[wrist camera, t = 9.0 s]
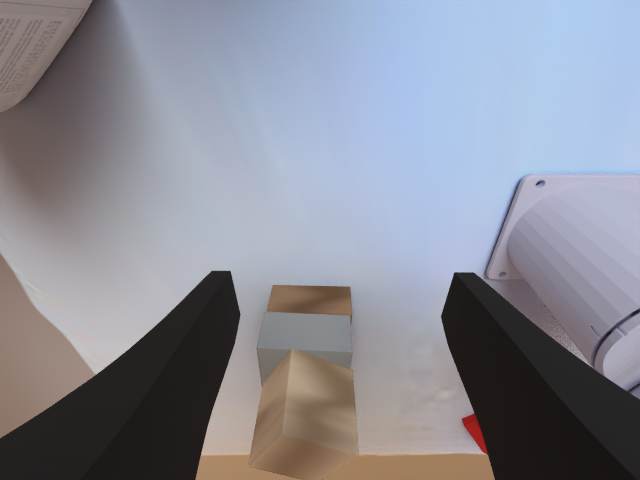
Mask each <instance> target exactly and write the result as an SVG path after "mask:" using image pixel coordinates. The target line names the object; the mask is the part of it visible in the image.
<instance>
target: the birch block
mask: <svg viewBox="0 0 640 480" xmlns="http://www.w3.org/2000/svg"><path fill="white" fill-rule="evenodd" d="M358 456H359V451H358V437H357V423H356V409H355V395H354V381H353V370H351V369H348V368H345V367H343V366H340V365H337V364H334V363H332V362H329V361H326V360H323V359H321V358H318V357H315V356H312V355H310V354H307V353H304V352H301V351H299V350H296V349H293V348H291V349H290V351H289V352H288V353H287V354H286V356H285V357H284V358H283V359H282V360H281V362H280V363H279V364H278V365H277V367H276V368H275V369H274V370H273V372H272V373H271V374H270V375H269V376H268V378H267V379H266V380H265V381H264V383H263V387H262V392H261V398H260V403H259V409H258V414H257V420H256V425H255V430H254V436H253V441H252V447H251V452H250V458H249V463H248V467H252V468H256V469H260V470H264V471H269V472H273V473H277V474H281V475H286V476H289V477H293V478H298V479H302V480H323V479H325V478H326V477H328V476H329V475H331V474H332V473H334V472H335V471H337V470H338V469H340V468H341V467H343V466H344V465H346V464H347V463H349V462H350V461H352V460H353V459H355V458H356V457H358Z"/></svg>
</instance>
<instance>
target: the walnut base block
mask: <svg viewBox="0 0 640 480" xmlns="http://www.w3.org/2000/svg"><path fill="white" fill-rule="evenodd" d="M267 312H280V313H305V314H329V315H350V324H351V320H352V307H351V294H350V287H337V286H290V285H273V287H272V292H271V296H270V301H269V306H268V310H267Z"/></svg>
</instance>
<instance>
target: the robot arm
mask: <svg viewBox="0 0 640 480" xmlns="http://www.w3.org/2000/svg"><path fill="white" fill-rule="evenodd" d="M540 180H541V183H540V184H538V185H536V183H537V182H538V181H540ZM501 272H503V273H501ZM500 273H501V274H500ZM486 274H487V276H488V278H489V279H493V280H526V282H527V283H528V284H529V285H530V287H531V288H532V289H533V291H534V292H535V293H536V295H537V296H538V297H539V298H540V300H541V301H542V302H543V304H544V305H545V306H546V308H547V309H548V310H549V311H550V313H551V314H552V315H553V317H554V318H555V319H556V321H557V322H558V323H559V325H560V326H561V327H562V328H563V330H564V331H565V332H566V334H567V335H568V336H569V338H570V339H571V340H572V341H573V343H574V344H575V345H576V347H577V348H578V349H579V351H580V352H581V353H582V354H583V356H584V357H585V358H586V360H587V361H588V362H589V364H590V365H591V366H592V367H590V366H589V365H587V364H586V363H585V362H583V361H582V360H580V359H579V358H578V357H576V356H575V355H574V354H572V353H571V352H570V351H568V350H567V349H566V348H564V347H563V346H562V345H560V344H559V343H558V342H556V341H555V340H554V339H553V338H551V337H550V336H549V335H547V334H546V333H545V332H544V331H542V330H541V329H540V328H539V327H537V326H536V325H535V324H534V323H533V322H531V321H530V320H529V319H528V318H526V317H525V316H524V315H523V314H522V313H521V312H519V311H518V310H517V309H516V308H515V307H513V306H512V305H511V304H510V303H509V302H508V301H507V300H505V299H504V298H503V297H502V296H501V295H500V294H498V293H497V292H496V291H495V290H494V289H493V288H492V287H490V286H489V285H488V284H487V283H486V282H485V281H483V280H482V279H481V278H480V277H479V276H477V275H476V274H475V273H457V272H454V276H453V279H452V282H451V286H450V289H449V292H448V295H447V299H446V302H445V305H444V309H443V312H442V315H441V318H442V323H443V327H444V331H445V335H446V339H447V343H448V346H449V349H450V352H451V354H452V357H453V359H454V362H455V365H456V367H457V370H458V372H459V375H460V377H461V380H462V382H463V385H464V387H465V390H466V392H467V395H468V398H469V400H470V403H471V405H472V408H473V410H474V413H475V415H476V418H477V421H478V424H479V427H480V429H481V432H482V436H483V439H484V443H485V446H486V449H487V453H488V456H489V460H490V463H491V467H492V470H493V474H494V477H495V480H640V174H528V175H526V176H524V177H523V178H522V179H521V181H520V183H519V186H518V189H517V191H516V194H515V197H514V199H513V202H512V205H511V207H510V210H509V213H508V215H507V218H506V220H505V223H504V226H503V228H502V231H501V234H500V236H499V239H498V242H497V244H496V247H495V250H494V252H493V255H492V258H491V260H490V263H489V266H488V268H487V271H486ZM239 319H240V311H239V306H238V302H237V297H236V293H235V289H234V284H233V280H232V275H231V271H211V272H210V273H209V274H208V275H207V276H206V277H205V278H204V279H203V280H202V281H201V282H200V283H199V284H198V285H197V286H196V287H195V288H194V289H193V290H192V291H191V292H190V293H189V294H188V295H187V296H186V297H185V298H184V299H183V300H182V301H181V302H180V303H179V304H178V305H177V306H176V307H175V308H174V309H173V310H172V311H171V312H170V313H169V314H168V315H167V316H166V317H165V318H164V319H163V320H162V321H160V322H159V323H158V324H157V325H156V326H155V327H154V328H153V329H152V330H150V331H149V332H148V333H147V334H146V335H145V336H144V337H143V338H141V339H140V340H139V341H138V342H137V343H136V344H135V345H133V346H132V347H131V348H130V349H129V350H127V351H126V352H125V353H124V354H122V355H121V356H120V357H119V358H118V359H116V360H115V361H114V362H112V363H111V364H110V365H108V366H107V367H106V368H105V369H103V370H102V371H101V372H99V373H98V374H97V375H95V376H94V377H93V378H91V379H90V380H88V381H87V382H86V383H84V384H83V385H81V386H80V387H78V388H77V389H75V390H74V391H73V392H71V393H70V394H68V395H67V396H65V397H64V398H62V399H61V400H60V401H58V402H57V403H55V404H54V405H52V406H51V407H49V408H48V409H46V410H45V411H43V412H42V413H40V414H39V415H37V416H35V417H34V418H32V419H31V420H29V421H28V422H26V423H24V424H23V425H21V426H20V427H18V428H16V429H15V430H13V431H12V432H10V433H9V434H7V435H5V436H3V437H2V438H0V480H195V478H196V474H197V469H198V465H199V460H200V456H201V452H202V448H203V444H204V439H205V435H206V431H207V427H208V423H209V420H210V416H211V413H212V410H213V407H214V404H215V401H216V398H217V395H218V392H219V389H220V386H221V383H222V380H223V377H224V374H225V371H226V368H227V365H228V362H229V359H230V356H231V353H232V350H233V347H234V344H235V339H236V335H237V330H238V325H239Z"/></svg>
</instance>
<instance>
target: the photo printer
mask: <svg viewBox="0 0 640 480" xmlns="http://www.w3.org/2000/svg"><path fill="white" fill-rule="evenodd" d="M92 1H93V0H0V112H3V111H6V110H8V109H10V108H12V107H13V106H15V105H16V104H18V103H19V102H20V101H21V100H22V99H24V98H25V97H26V96H27V94H28V93H29V92H30V91H31V90H32V88H33V87H34V86H35V84H36V83H37V82H38V81H39V79H40V78H41V77H42V75H43V74H44V72H45V71H46V70H47V68H48V67H49V66H50V64H51V63H52V61H53V60H54V58H55V57H56V56H57V54H58V53H59V51H60V50H61V49H62V47H63V46H64V44H65V43H66V41H67V40H68V38H69V37H70V36H71V34H72V33H73V31H74V30H75V28H76V26H77V25H78V24H79V23H80V21H81V19H82V18H83V16H84V14H85V13H86V11H87V10H88V8H89V6H90V4H91V3H92Z"/></svg>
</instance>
